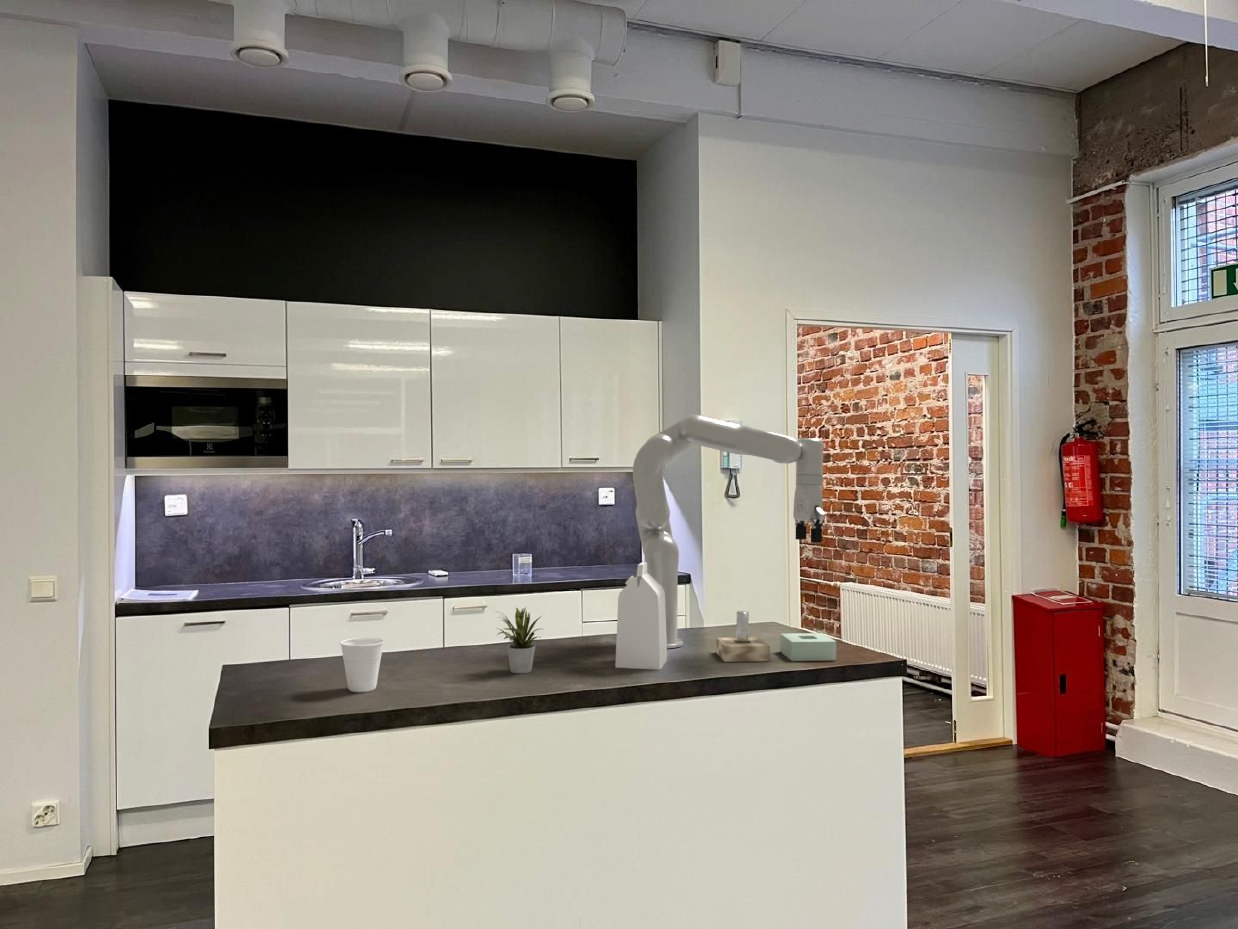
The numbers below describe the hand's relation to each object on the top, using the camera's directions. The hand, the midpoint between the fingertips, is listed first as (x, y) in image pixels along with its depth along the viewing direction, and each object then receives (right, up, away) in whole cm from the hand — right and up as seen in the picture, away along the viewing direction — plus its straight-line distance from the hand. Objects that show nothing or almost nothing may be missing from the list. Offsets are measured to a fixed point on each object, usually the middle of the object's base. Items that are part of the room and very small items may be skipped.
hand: (808, 540), depth 275 cm
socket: (-3, -30, -15) cm, 34 cm away
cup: (-113, -30, -56) cm, 130 cm away
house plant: (-80, -30, -35) cm, 92 cm away
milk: (-48, -30, -26) cm, 63 cm away
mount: (-21, -30, -17) cm, 40 cm away
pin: (-21, -30, -17) cm, 40 cm away
